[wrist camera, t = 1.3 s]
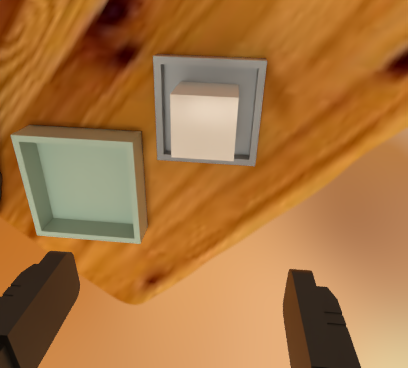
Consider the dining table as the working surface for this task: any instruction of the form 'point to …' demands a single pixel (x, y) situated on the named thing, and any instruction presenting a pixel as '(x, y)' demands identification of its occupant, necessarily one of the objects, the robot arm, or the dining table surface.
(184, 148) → the beige block
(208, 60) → the bin
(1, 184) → the hand tool
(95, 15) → the dining table surface
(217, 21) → the dining table surface
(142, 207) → the bin
